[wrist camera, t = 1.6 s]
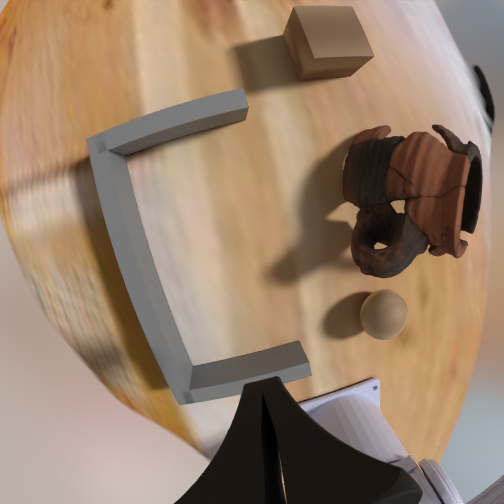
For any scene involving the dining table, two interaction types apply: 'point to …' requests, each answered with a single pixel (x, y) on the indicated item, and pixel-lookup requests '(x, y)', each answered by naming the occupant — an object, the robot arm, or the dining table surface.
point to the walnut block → (326, 42)
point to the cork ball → (383, 314)
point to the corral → (142, 265)
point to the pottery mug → (410, 196)
